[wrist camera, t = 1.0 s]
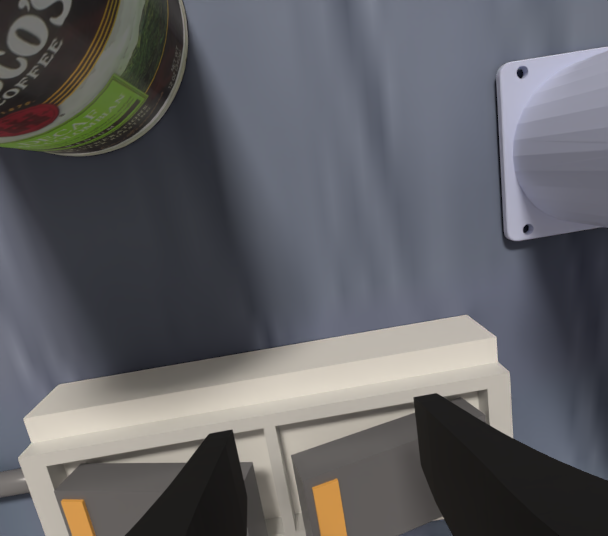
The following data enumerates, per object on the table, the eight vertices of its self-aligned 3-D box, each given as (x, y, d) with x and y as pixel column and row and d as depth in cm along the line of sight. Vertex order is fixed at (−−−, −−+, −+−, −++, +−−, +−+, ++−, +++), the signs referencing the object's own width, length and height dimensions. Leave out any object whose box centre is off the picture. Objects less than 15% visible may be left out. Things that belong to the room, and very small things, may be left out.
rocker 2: (460, 396, 19) (487, 416, 17) (466, 472, 20) (492, 497, 18) (290, 455, 17) (303, 483, 15) (306, 536, 18) (319, 571, 16)
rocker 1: (252, 461, 17) (238, 495, 15) (269, 543, 18) (258, 582, 16) (80, 463, 19) (51, 493, 17) (104, 537, 19) (79, 572, 18)
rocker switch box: (466, 314, 21) (508, 346, 18) (477, 465, 23) (517, 524, 20) (-63, 405, 21) (-141, 458, 17) (-4, 552, 23) (-62, 629, 19)
